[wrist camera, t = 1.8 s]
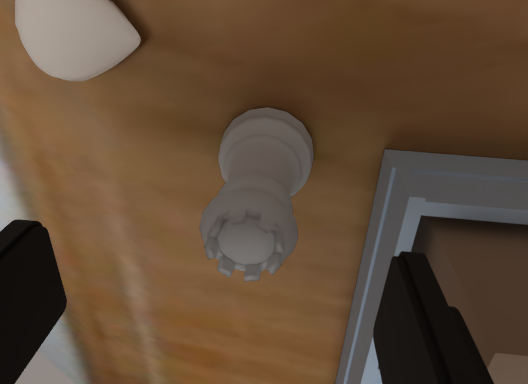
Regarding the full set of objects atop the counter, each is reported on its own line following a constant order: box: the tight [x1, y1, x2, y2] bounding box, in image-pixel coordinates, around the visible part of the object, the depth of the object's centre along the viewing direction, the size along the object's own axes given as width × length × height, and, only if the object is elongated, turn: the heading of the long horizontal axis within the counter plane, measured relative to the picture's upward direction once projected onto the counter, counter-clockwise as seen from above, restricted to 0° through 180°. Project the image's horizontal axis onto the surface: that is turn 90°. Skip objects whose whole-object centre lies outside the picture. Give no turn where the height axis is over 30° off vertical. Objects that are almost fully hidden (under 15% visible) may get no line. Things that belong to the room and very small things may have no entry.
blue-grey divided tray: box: [335, 149, 528, 384], centre depth 18 cm, size 7×18×10 cm, turn 178°
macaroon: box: [15, 0, 141, 81], centre depth 16 cm, size 4×5×2 cm
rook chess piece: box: [200, 107, 314, 281], centre depth 16 cm, size 4×4×8 cm
